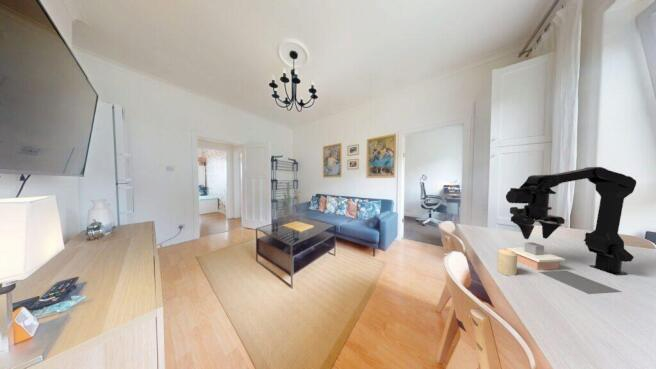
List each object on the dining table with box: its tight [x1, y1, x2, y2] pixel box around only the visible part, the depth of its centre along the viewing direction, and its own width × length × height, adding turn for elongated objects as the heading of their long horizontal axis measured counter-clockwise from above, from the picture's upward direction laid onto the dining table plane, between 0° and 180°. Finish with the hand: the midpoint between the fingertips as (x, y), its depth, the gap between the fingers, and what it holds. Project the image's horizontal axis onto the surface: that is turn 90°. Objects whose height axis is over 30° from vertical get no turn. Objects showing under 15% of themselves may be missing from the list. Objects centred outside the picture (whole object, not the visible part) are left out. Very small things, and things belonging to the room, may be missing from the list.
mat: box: [538, 270, 623, 295], centre depth 65 cm, size 13×13×1 cm
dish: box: [516, 253, 560, 271], centre depth 78 cm, size 10×10×4 cm
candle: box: [496, 247, 518, 277], centre depth 71 cm, size 6×6×10 cm
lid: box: [507, 241, 566, 262], centre depth 77 cm, size 12×12×5 cm
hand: (535, 238), depth 77 cm, fingers open, 9 cm apart
